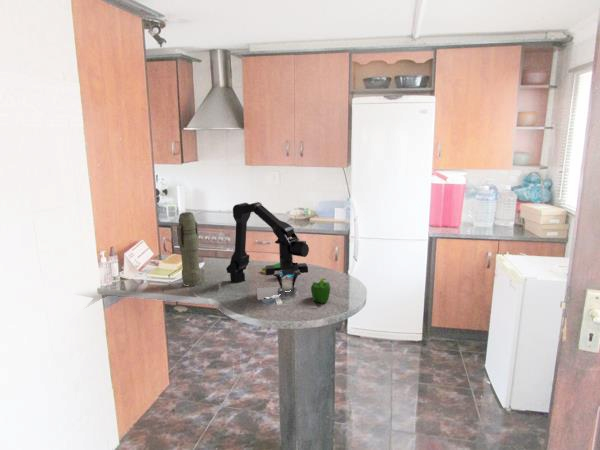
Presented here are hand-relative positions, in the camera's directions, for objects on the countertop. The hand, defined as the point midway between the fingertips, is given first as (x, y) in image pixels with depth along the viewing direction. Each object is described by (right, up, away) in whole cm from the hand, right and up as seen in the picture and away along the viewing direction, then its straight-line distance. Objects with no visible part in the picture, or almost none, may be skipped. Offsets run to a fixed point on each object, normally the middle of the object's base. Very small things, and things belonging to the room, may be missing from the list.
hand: (287, 287), depth 190 cm
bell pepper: (+15, -5, -8) cm, 18 cm away
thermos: (-47, -1, +18) cm, 50 cm away
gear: (0, +1, +20) cm, 20 cm away
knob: (0, -1, 0) cm, 1 cm away
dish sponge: (-7, +3, +34) cm, 35 cm away
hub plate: (-4, -3, 0) cm, 5 cm away
